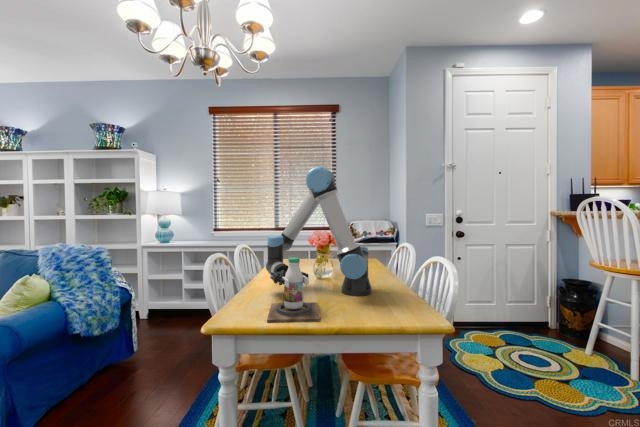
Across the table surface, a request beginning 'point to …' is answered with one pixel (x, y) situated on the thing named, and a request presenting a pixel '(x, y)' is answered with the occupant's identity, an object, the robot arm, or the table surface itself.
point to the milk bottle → (293, 285)
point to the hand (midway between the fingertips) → (298, 282)
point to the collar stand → (293, 313)
